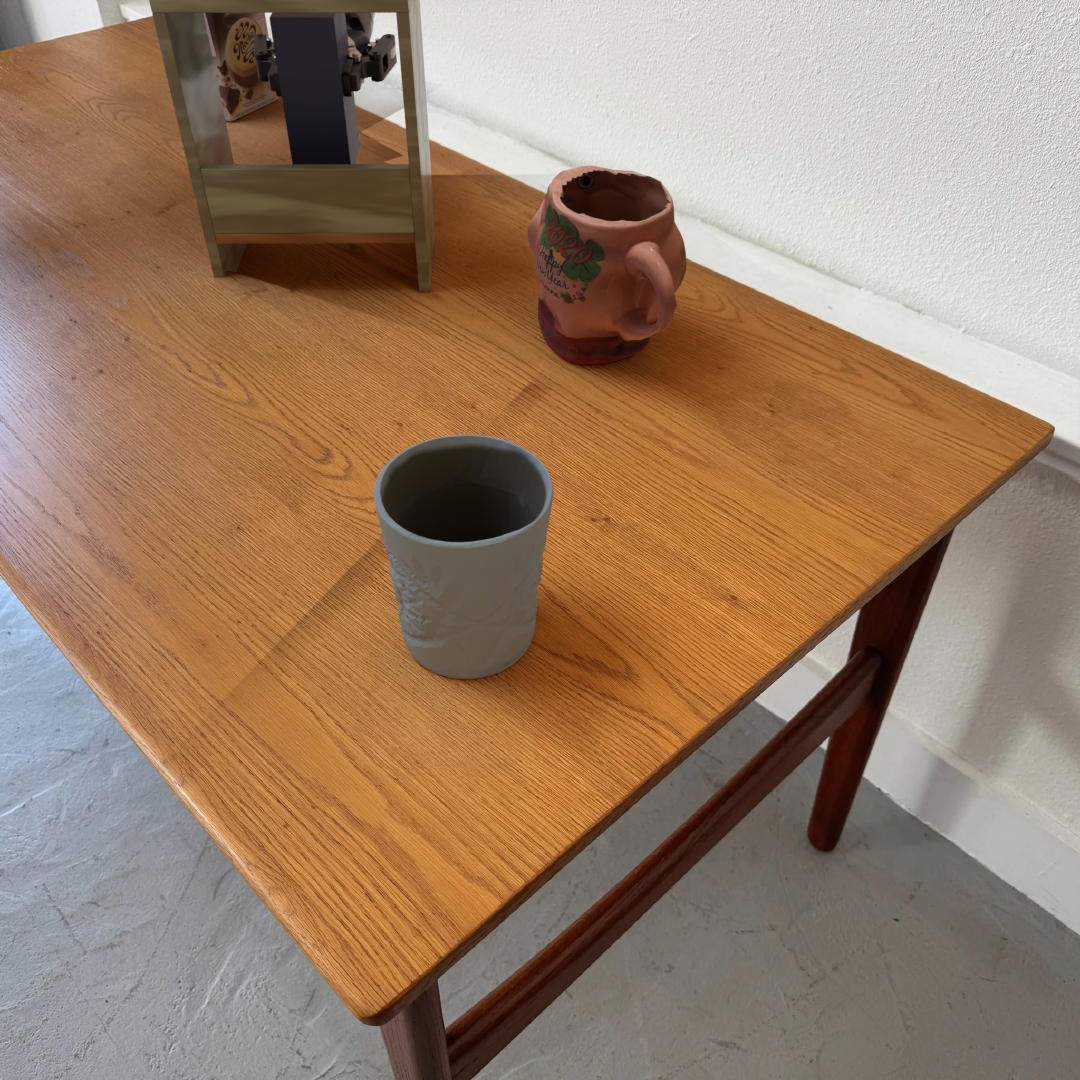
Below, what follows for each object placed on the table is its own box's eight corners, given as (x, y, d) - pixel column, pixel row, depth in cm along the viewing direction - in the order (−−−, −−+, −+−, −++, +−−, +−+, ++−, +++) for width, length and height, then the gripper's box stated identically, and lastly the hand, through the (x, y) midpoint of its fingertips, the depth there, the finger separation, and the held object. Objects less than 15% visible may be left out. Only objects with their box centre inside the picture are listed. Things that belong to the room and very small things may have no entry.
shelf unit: (239, 238, 105) (181, -41, 87) (435, 237, 105) (416, -41, 88) (217, 293, 97) (148, -1, 80) (429, 291, 97) (407, -1, 80)
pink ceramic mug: (730, 382, 87) (755, 228, 77) (608, 426, 82) (619, 268, 73) (602, 279, 99) (609, 135, 90) (490, 311, 95) (486, 164, 85)
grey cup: (361, 645, 65) (336, 503, 57) (452, 551, 72) (442, 411, 64) (494, 713, 62) (488, 572, 53) (578, 608, 68) (585, 467, 60)
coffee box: (232, 123, 127) (204, -22, 115) (193, 112, 129) (162, -30, 118) (281, 99, 132) (258, -41, 121) (243, 89, 135) (217, -49, 124)
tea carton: (294, 175, 98) (269, 17, 88) (304, 145, 103) (281, -8, 93) (352, 175, 98) (333, 17, 88) (359, 145, 103) (342, -7, 93)
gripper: (408, 63, 108) (395, 127, 96) (270, 63, 108) (240, 127, 96) (402, -15, 103) (388, 42, 91) (257, -16, 103) (224, 41, 90)
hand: (312, 85), depth 93 cm, fingers closed on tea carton, 5 cm apart
